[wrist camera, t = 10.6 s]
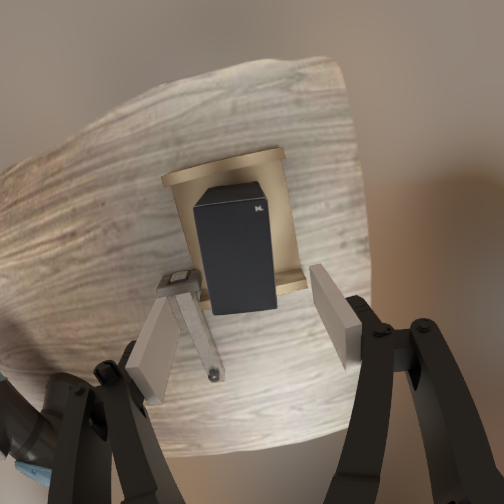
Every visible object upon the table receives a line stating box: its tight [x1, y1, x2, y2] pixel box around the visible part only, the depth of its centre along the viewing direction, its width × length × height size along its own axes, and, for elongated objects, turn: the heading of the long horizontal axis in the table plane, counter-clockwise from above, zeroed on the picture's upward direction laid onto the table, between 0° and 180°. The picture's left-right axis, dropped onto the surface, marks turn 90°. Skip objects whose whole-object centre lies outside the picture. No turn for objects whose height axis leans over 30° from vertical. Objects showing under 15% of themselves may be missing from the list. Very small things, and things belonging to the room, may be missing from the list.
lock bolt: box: [170, 270, 225, 383], centre depth 37 cm, size 2×18×3 cm, turn 12°
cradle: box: [156, 148, 308, 311], centre depth 32 cm, size 18×16×4 cm
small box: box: [193, 181, 277, 315], centre depth 28 cm, size 11×6×10 cm, turn 7°
